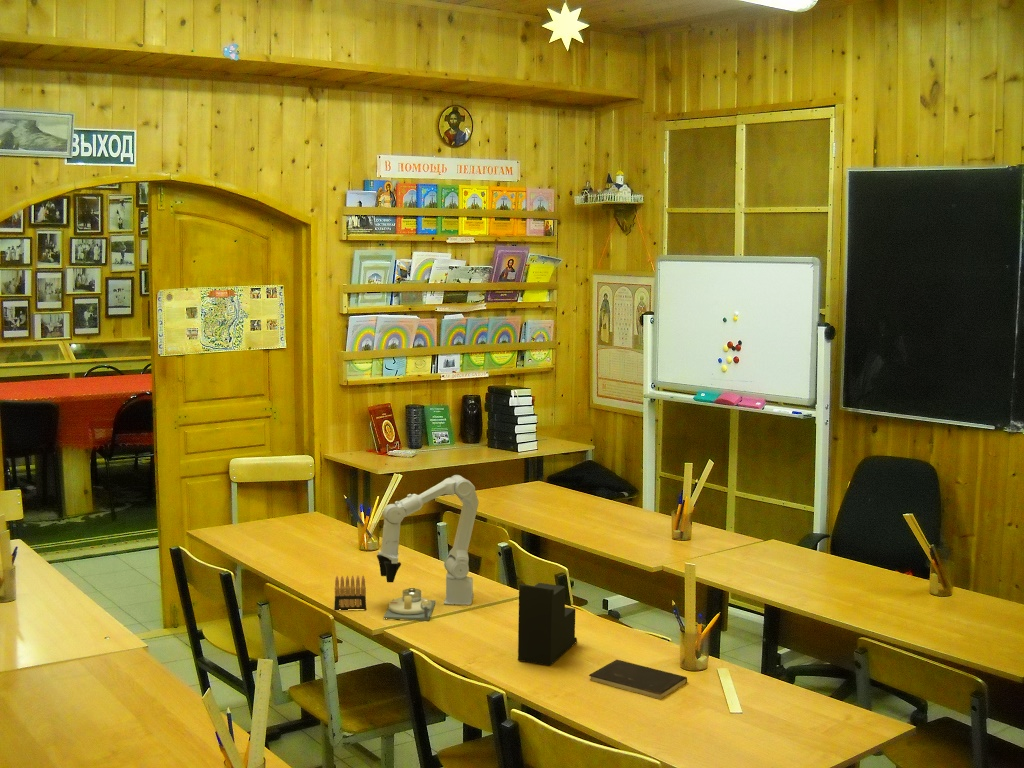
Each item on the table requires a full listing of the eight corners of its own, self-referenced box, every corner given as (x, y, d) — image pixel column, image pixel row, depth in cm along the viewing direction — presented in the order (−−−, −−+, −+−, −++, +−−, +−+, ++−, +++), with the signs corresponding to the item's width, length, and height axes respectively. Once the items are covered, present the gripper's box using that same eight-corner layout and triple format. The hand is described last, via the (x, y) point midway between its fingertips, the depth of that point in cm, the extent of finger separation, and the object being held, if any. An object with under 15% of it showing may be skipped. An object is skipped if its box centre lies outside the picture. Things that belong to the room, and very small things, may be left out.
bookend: (545, 637, 354) (546, 565, 351) (577, 642, 350) (579, 569, 347) (516, 661, 332) (517, 585, 330) (550, 667, 328) (552, 589, 325)
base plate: (435, 603, 387) (435, 600, 387) (428, 620, 368) (428, 618, 368) (392, 602, 388) (392, 599, 388) (383, 619, 369) (383, 616, 369)
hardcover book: (660, 701, 305) (660, 693, 304) (588, 682, 318) (588, 674, 318) (687, 684, 318) (687, 676, 317) (617, 666, 331) (617, 658, 331)
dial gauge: (431, 619, 370) (431, 599, 369) (431, 620, 369) (431, 600, 368) (420, 619, 370) (420, 599, 369) (420, 620, 369) (420, 600, 368)
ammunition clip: (334, 611, 378) (334, 576, 376) (334, 609, 379) (334, 574, 378) (366, 610, 379) (365, 575, 377) (366, 608, 380) (366, 574, 379)
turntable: (433, 601, 385) (433, 586, 384) (428, 614, 370) (428, 598, 370) (392, 600, 385) (392, 585, 385) (385, 613, 371) (385, 597, 370)
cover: (422, 597, 385) (422, 586, 384) (419, 602, 378) (419, 591, 378) (403, 596, 385) (403, 585, 385) (401, 602, 379) (401, 591, 378)
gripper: (373, 534, 383) (370, 573, 384) (385, 545, 370) (381, 585, 371) (393, 534, 386) (389, 573, 387) (405, 545, 373) (401, 584, 374)
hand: (387, 579), depth 379 cm, fingers open, 7 cm apart
